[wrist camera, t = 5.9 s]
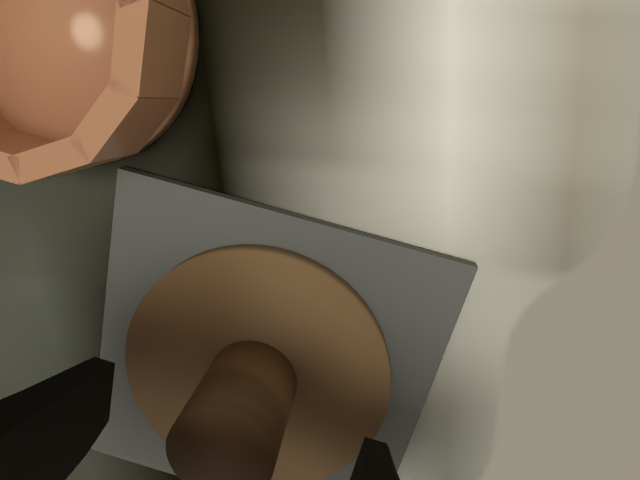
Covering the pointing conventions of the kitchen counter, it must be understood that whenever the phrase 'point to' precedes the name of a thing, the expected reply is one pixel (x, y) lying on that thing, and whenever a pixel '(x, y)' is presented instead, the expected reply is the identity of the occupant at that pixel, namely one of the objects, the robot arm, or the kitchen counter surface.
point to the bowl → (90, 80)
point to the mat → (291, 234)
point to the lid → (257, 366)
